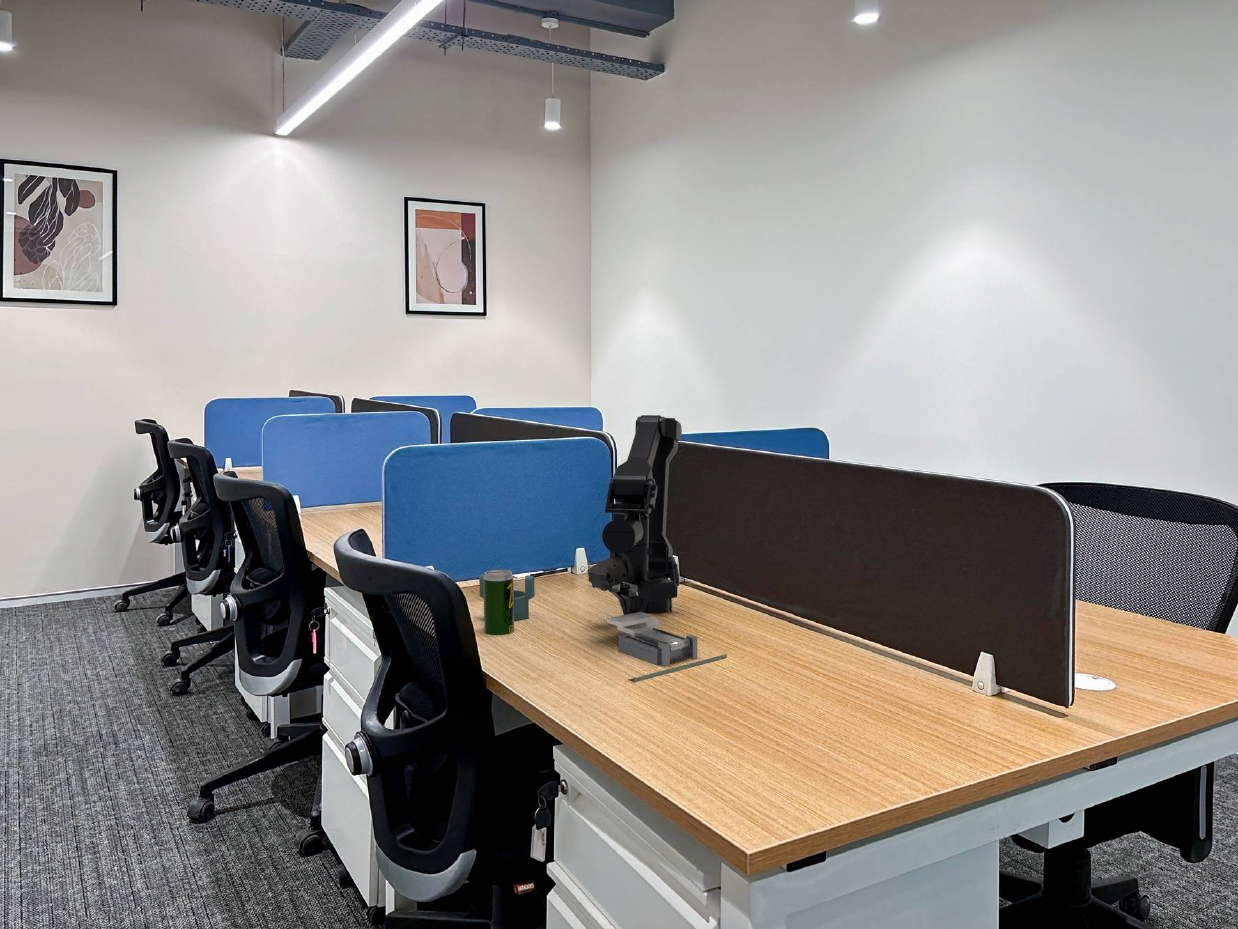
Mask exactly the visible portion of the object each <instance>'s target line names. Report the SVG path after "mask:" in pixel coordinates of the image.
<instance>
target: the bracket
mask: <svg viewBox="0 0 1238 929" xmlns="http://www.w3.org/2000/svg"><path fill="white" fill-rule="evenodd" d="M484 576H485V573H484V574H479V577H478V578H479V581H478V582H479V587H478V588H479V597H480V598H482V599H484V588H483V578H484ZM524 586H525V588H524V590H520V589H514V623H515V622H520V621H525V620H529V619H530V616H529V615H530V610H529V607H530V606H529V604H530V602H529V601H530V600H532V599H533V598H535V591H536V590H535V575H525V578H524Z"/></svg>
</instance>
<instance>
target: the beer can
mask: <svg viewBox="0 0 1238 929" xmlns="http://www.w3.org/2000/svg"><path fill="white" fill-rule="evenodd" d="M484 574H485V576H484V578H483V588H484V598H483V626H484V627H483V628H484V630H483V631H484V632H483V633H484V634H485V635H489V636H505V635H510V634H512V633H514V632H515V622H514V590H515V589H514V586H515V585H514V576H513V571H511V570H510V569H490V570H487V571H485V572H484Z"/></svg>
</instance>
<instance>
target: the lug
mask: <svg viewBox="0 0 1238 929" xmlns="http://www.w3.org/2000/svg"><path fill="white" fill-rule="evenodd" d="M606 623H607V624H611V625H612V626H613V625H614V626H616V627H617V626H619V627H625V626H629V625H634V624H637V625H640V626H643V627H646V628H649V629H652V628H656V629H660V618H657V617H656V615H653V614H647V613H643V612H636V613H631V614H626V615H624V614H623V615H617V616H611V617H608V618H606ZM631 636H632V637H636V636H633V635H631Z"/></svg>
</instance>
